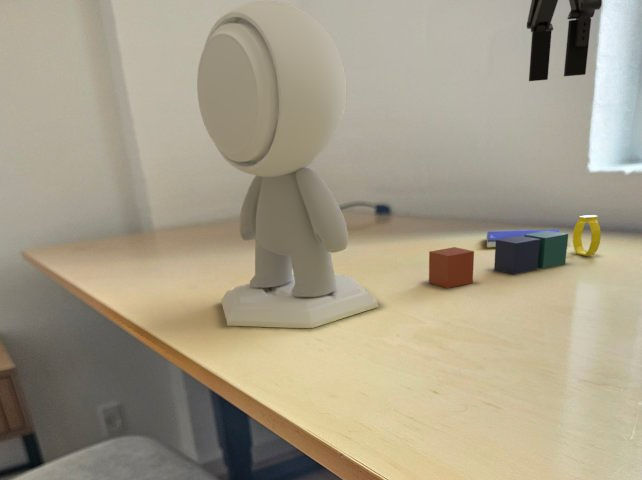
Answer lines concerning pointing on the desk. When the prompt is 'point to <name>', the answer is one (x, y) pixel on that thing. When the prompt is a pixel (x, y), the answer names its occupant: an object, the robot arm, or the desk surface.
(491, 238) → the hard drive
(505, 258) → the block navy
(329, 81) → the white toy figurine
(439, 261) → the block terracotta
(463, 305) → the desk surface
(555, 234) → the block teal
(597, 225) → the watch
